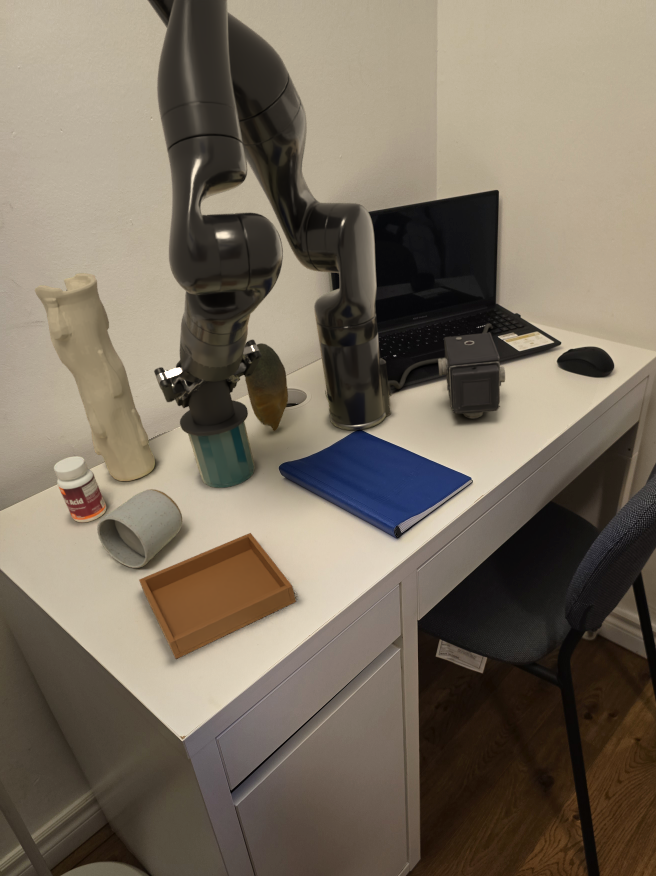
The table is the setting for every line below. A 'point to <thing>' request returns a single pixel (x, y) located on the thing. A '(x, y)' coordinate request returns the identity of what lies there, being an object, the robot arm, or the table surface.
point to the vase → (97, 375)
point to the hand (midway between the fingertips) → (204, 394)
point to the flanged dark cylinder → (212, 410)
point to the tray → (216, 593)
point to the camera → (472, 374)
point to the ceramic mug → (140, 527)
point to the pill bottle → (79, 489)
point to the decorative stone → (268, 388)
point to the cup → (224, 457)
